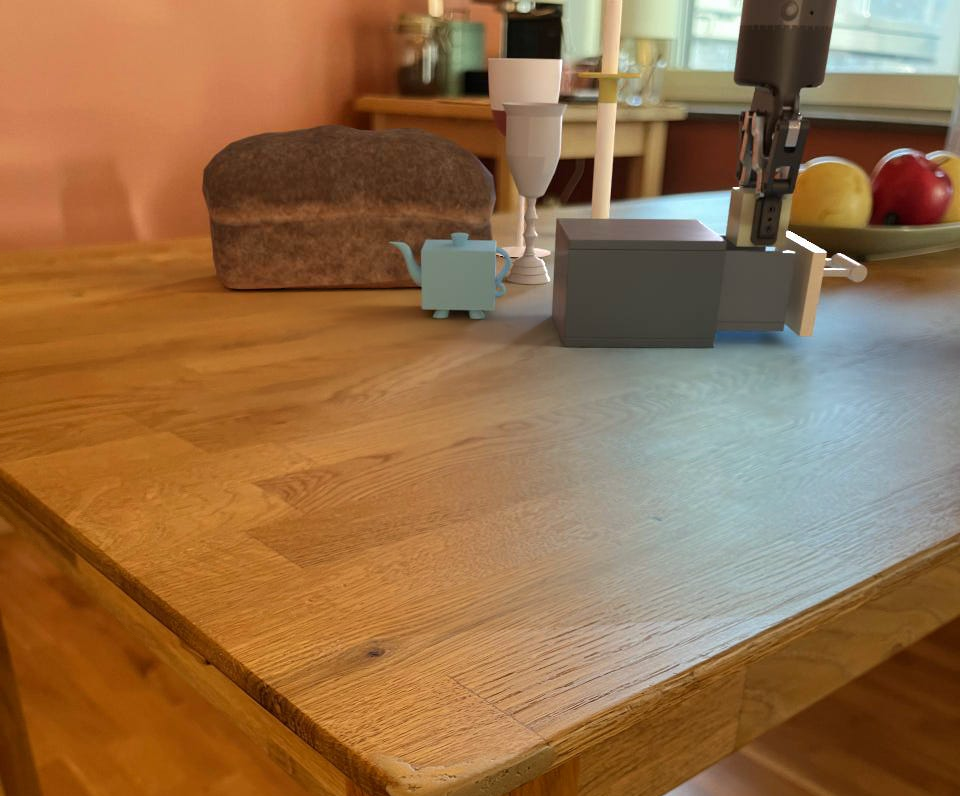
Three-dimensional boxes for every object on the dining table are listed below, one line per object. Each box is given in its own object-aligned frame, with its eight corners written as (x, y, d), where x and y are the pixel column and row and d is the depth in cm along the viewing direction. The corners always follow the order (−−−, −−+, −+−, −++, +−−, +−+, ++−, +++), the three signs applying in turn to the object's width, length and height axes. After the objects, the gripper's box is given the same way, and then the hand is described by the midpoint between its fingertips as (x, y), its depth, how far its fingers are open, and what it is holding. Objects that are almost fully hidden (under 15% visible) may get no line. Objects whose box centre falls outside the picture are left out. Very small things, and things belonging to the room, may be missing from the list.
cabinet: (686, 316, 103) (696, 219, 98) (713, 348, 92) (727, 241, 87) (551, 314, 102) (556, 218, 98) (563, 347, 91) (569, 239, 87)
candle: (555, 232, 148) (570, -82, 129) (621, 231, 150) (645, -80, 131) (573, 243, 139) (591, -91, 121) (643, 242, 141) (672, -88, 122)
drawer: (826, 309, 102) (840, 231, 98) (866, 337, 92) (883, 252, 88) (653, 307, 101) (661, 230, 98) (675, 336, 92) (684, 250, 88)
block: (771, 239, 95) (779, 188, 93) (785, 247, 91) (793, 194, 89) (725, 238, 95) (731, 187, 93) (736, 246, 91) (743, 193, 89)
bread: (501, 289, 112) (505, 130, 104) (206, 294, 109) (187, 128, 101) (483, 265, 125) (485, 120, 117) (218, 268, 121) (202, 118, 113)
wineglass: (563, 249, 135) (573, 59, 124) (536, 261, 128) (544, 59, 117) (503, 244, 138) (507, 58, 127) (473, 255, 131) (475, 58, 120)
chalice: (485, 278, 118) (488, 103, 109) (528, 271, 122) (534, 101, 113) (528, 288, 113) (534, 106, 104) (571, 281, 117) (581, 105, 108)
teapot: (388, 318, 100) (385, 237, 96) (394, 304, 105) (391, 227, 101) (509, 320, 100) (511, 239, 96) (509, 306, 105) (511, 229, 101)
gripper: (860, 20, 78) (820, 254, 87) (805, 24, 91) (774, 228, 99) (764, 19, 78) (733, 253, 87) (722, 22, 90) (698, 227, 99)
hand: (755, 239), depth 93 cm, fingers closed on block, 4 cm apart
